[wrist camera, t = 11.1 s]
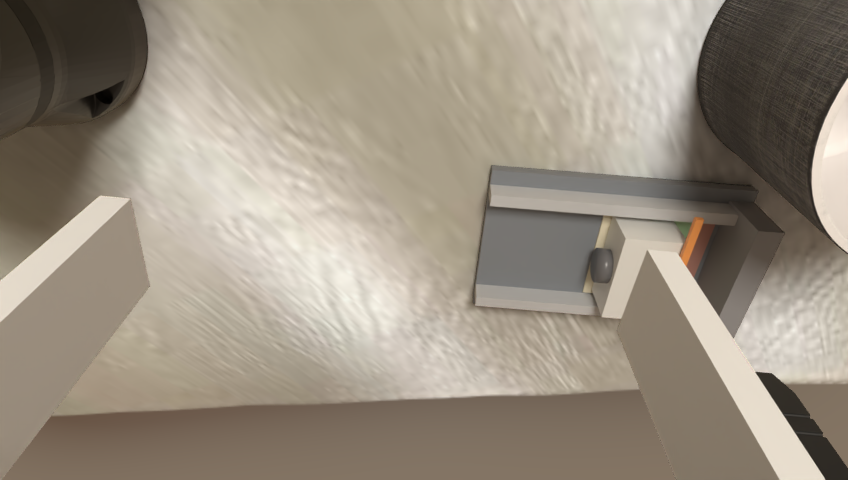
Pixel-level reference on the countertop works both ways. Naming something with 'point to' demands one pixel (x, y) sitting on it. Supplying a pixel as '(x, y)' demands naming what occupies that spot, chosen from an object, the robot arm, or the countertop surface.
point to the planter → (784, 99)
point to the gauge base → (588, 227)
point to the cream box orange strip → (633, 257)
